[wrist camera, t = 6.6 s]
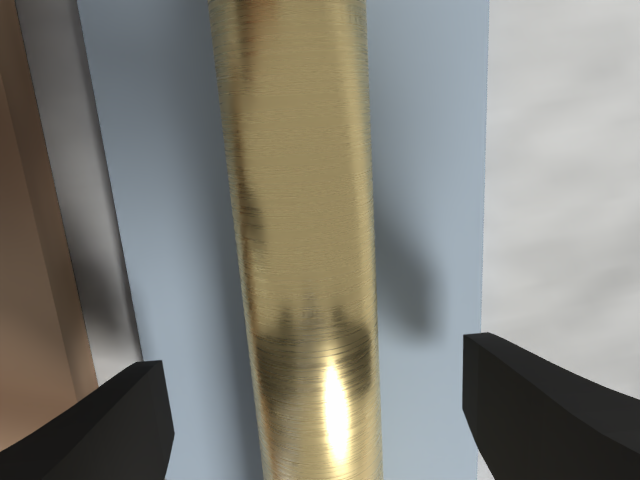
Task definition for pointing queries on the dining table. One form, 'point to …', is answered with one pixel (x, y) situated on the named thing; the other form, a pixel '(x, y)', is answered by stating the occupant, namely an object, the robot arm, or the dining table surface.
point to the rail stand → (33, 264)
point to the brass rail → (304, 228)
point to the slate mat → (219, 237)
